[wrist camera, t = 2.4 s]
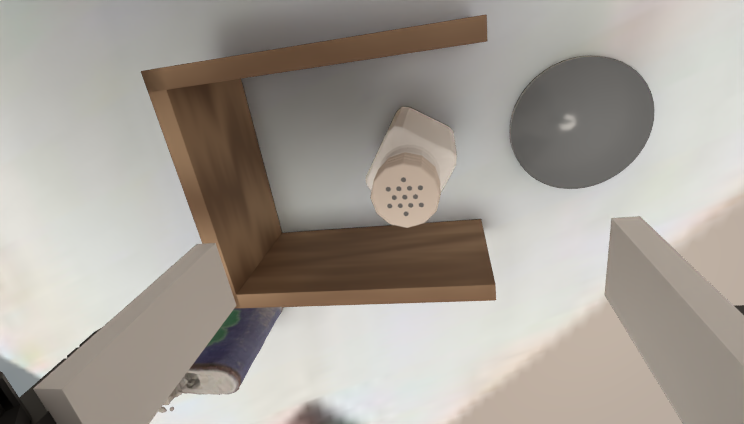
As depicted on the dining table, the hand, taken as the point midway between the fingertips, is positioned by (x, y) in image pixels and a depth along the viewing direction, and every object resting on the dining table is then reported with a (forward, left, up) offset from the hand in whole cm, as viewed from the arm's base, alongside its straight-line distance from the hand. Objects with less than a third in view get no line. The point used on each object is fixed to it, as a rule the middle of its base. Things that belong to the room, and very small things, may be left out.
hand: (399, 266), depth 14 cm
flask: (+12, -17, -15) cm, 26 cm away
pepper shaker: (0, 0, -15) cm, 15 cm away
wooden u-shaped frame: (0, -4, -15) cm, 16 cm away
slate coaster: (0, +10, -15) cm, 18 cm away
